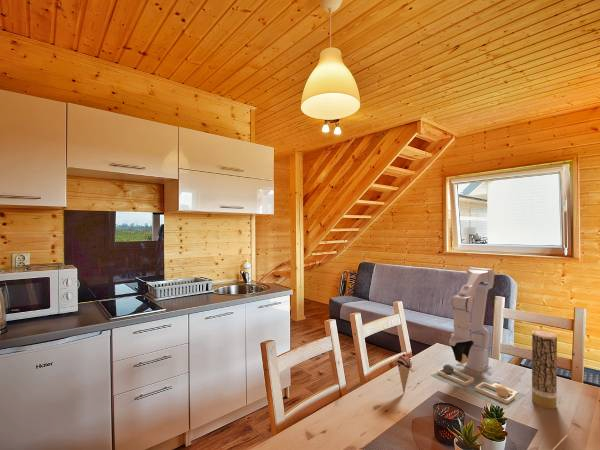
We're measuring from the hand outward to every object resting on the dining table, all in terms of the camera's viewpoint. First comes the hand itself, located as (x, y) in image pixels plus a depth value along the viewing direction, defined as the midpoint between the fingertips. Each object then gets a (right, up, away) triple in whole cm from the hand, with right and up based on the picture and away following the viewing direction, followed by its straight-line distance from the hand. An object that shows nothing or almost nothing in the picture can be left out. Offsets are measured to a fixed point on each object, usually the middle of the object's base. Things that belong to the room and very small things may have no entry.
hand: (461, 359), depth 126 cm
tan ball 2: (+8, -8, -12) cm, 17 cm away
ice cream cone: (-26, -9, -9) cm, 29 cm away
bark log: (+20, -9, -16) cm, 28 cm away
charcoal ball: (-3, -8, +5) cm, 10 cm away
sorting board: (+4, -9, -4) cm, 10 cm away
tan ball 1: (0, -2, 0) cm, 2 cm away
